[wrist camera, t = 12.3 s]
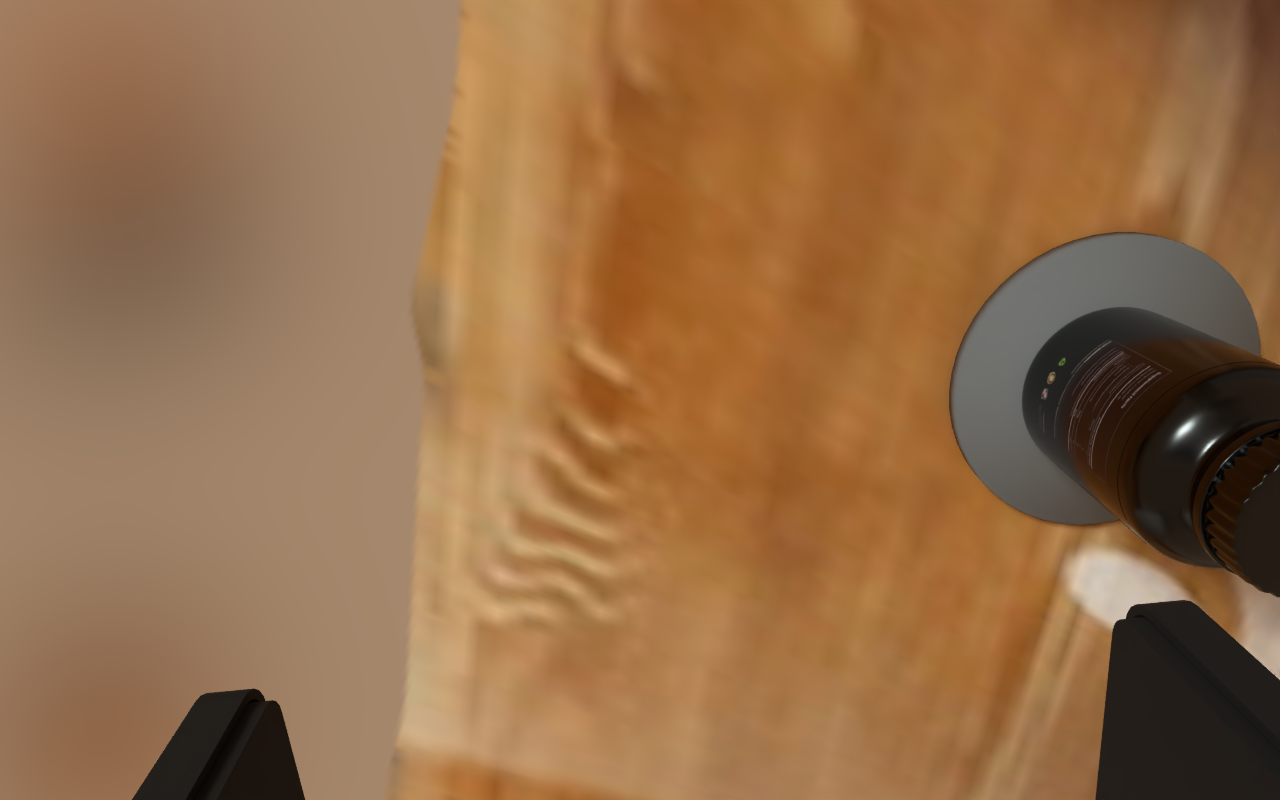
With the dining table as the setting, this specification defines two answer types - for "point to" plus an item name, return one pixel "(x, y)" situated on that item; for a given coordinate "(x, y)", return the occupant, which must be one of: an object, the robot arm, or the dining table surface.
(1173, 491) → the supplement bottle
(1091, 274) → the coaster
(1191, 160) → the dining table surface
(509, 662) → the dining table surface
